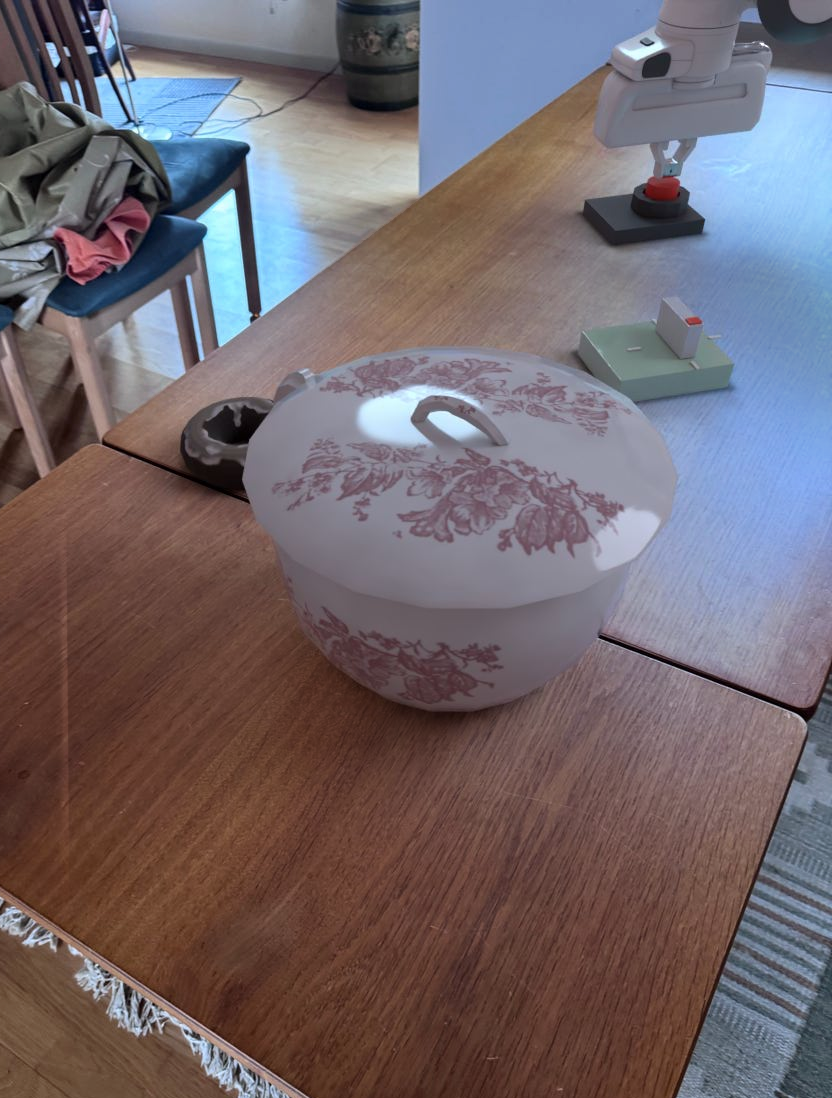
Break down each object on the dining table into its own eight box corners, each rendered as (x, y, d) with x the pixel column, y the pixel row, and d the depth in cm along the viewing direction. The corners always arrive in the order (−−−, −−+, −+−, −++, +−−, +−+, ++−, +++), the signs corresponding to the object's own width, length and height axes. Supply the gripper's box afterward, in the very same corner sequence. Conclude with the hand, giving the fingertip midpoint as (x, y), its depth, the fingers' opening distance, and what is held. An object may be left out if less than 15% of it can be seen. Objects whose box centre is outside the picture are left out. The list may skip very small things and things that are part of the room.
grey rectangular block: (654, 330, 94) (662, 295, 91) (669, 327, 94) (677, 293, 92) (680, 359, 90) (689, 324, 87) (695, 357, 90) (704, 322, 88)
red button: (668, 187, 117) (671, 173, 116) (682, 200, 114) (685, 185, 113) (639, 191, 117) (642, 177, 115) (653, 203, 114) (656, 189, 113)
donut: (332, 456, 86) (330, 420, 83) (238, 515, 81) (232, 478, 78) (251, 410, 92) (247, 374, 89) (159, 462, 86) (150, 426, 83)
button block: (666, 205, 122) (673, 174, 119) (701, 236, 115) (709, 204, 112) (582, 216, 120) (586, 185, 118) (612, 248, 114) (618, 216, 111)
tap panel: (690, 339, 98) (697, 311, 96) (737, 389, 92) (746, 360, 89) (576, 356, 97) (581, 328, 94) (615, 408, 90) (621, 379, 88)
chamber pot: (674, 765, 61) (769, 530, 46) (268, 796, 61) (228, 568, 45) (576, 504, 80) (620, 276, 65) (266, 525, 79) (237, 300, 64)
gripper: (762, 31, 107) (730, 157, 117) (598, 50, 104) (580, 176, 114) (791, 46, 102) (755, 175, 113) (621, 65, 100) (600, 195, 110)
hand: (666, 176), depth 113 cm, fingers closed
